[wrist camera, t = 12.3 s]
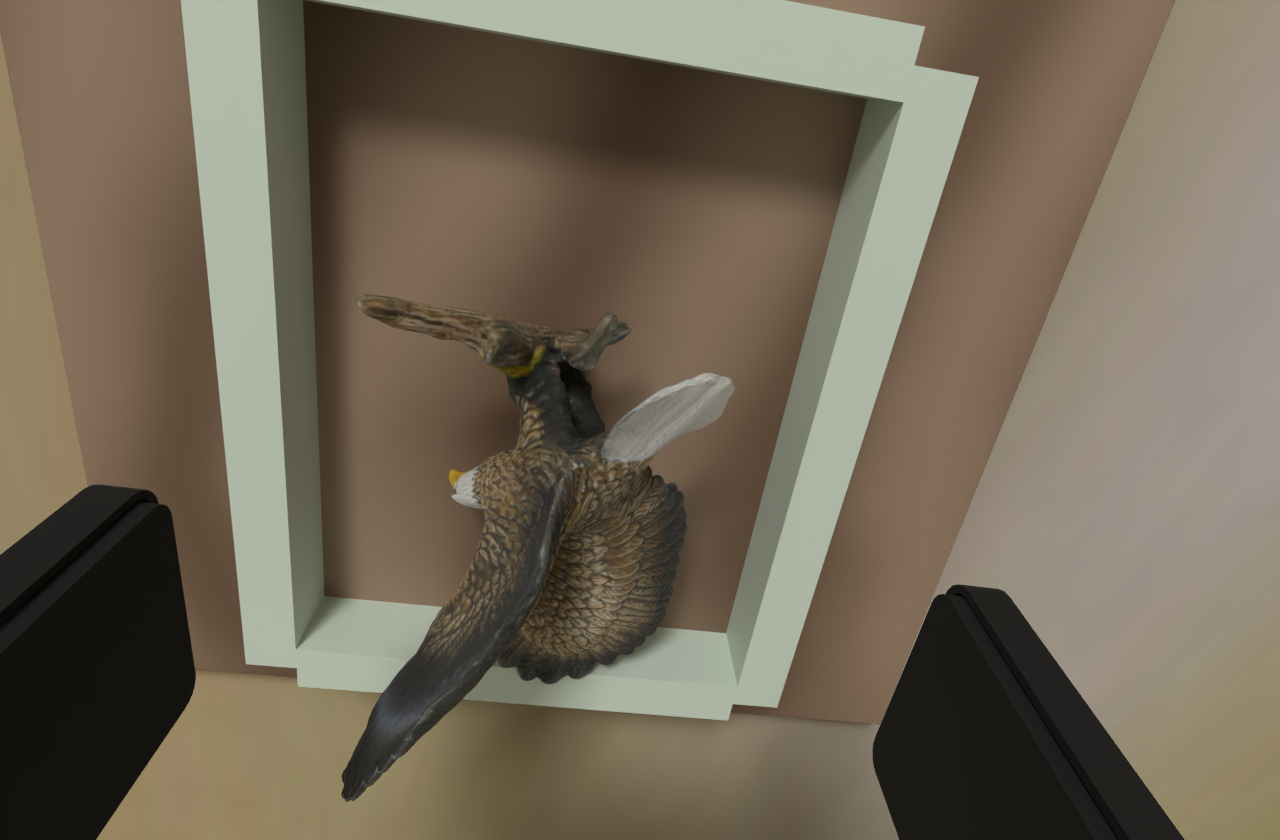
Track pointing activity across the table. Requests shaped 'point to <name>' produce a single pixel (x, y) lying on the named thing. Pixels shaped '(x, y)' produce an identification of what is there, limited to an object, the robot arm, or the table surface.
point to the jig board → (563, 296)
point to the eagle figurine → (544, 525)
